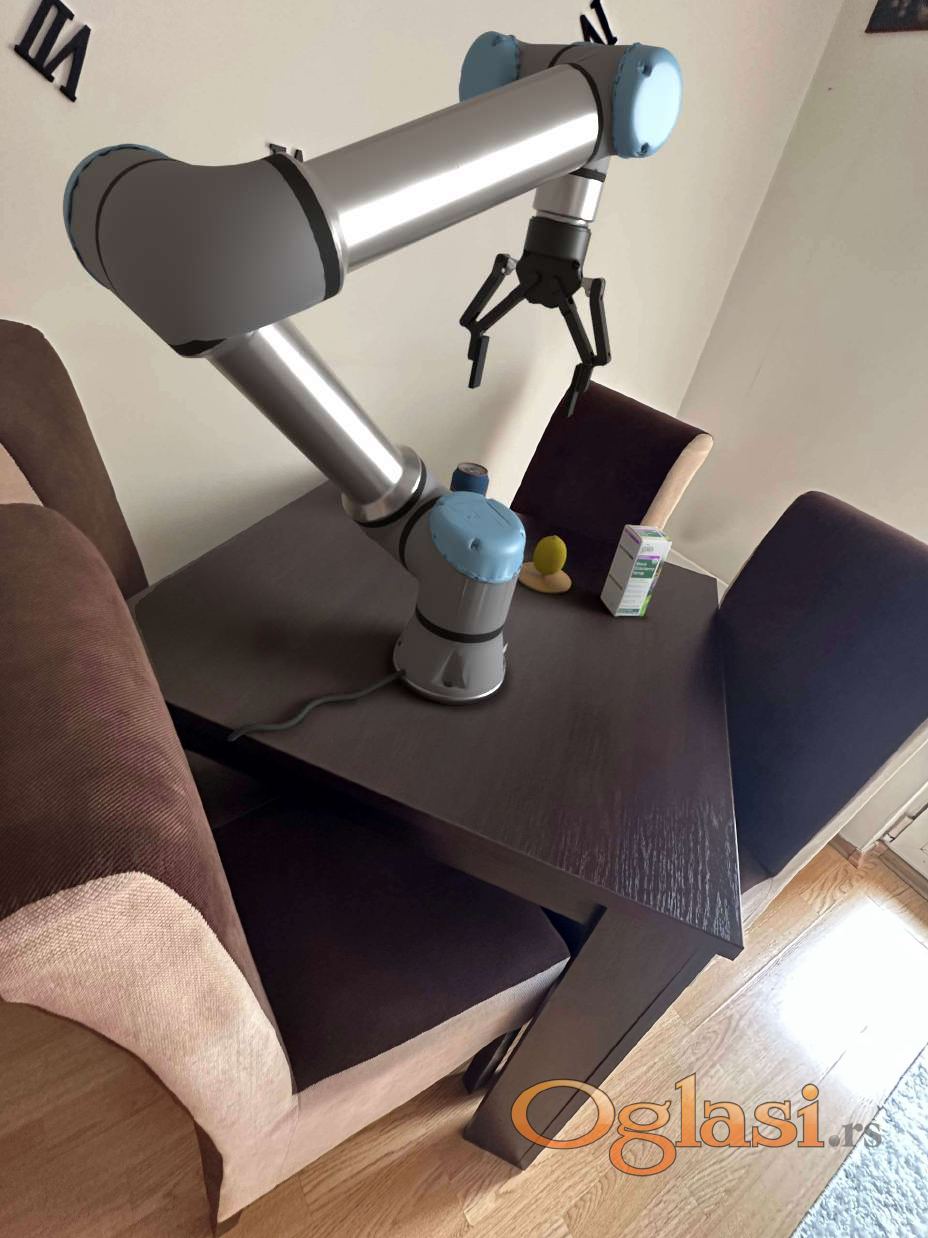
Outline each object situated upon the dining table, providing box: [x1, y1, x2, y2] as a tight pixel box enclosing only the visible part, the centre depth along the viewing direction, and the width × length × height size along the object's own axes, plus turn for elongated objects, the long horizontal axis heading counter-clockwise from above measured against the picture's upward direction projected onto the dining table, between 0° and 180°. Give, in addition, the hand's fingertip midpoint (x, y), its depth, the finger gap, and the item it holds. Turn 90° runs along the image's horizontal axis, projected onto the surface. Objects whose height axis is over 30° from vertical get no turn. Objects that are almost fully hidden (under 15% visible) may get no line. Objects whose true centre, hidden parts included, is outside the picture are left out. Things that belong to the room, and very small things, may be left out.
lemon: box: [532, 535, 567, 577], centre depth 112 cm, size 6×6×8 cm
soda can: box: [449, 461, 490, 498], centre depth 122 cm, size 7×7×12 cm
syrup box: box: [600, 524, 673, 617], centre depth 107 cm, size 6×6×14 cm
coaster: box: [517, 561, 572, 595], centre depth 115 cm, size 10×10×1 cm
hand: (519, 400), depth 88 cm, fingers open, 13 cm apart
